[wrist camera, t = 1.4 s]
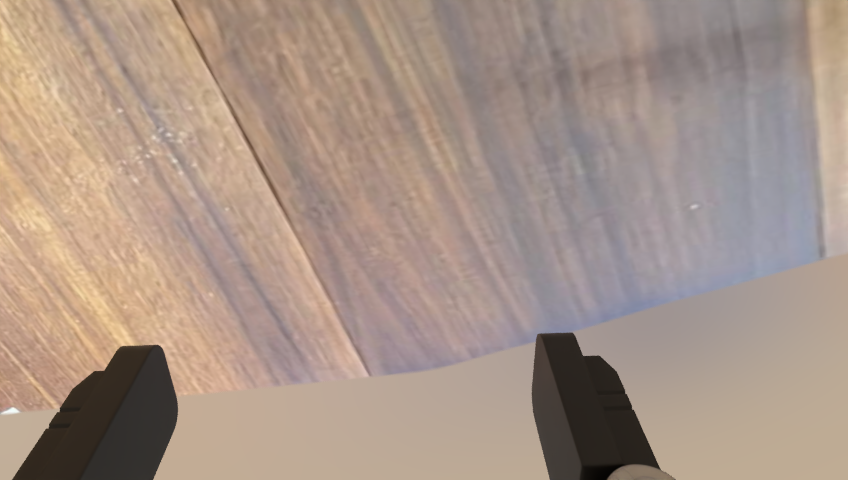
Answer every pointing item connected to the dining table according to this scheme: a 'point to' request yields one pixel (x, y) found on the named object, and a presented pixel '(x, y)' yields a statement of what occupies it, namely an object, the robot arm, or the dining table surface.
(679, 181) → the dining table surface
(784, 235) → the dining table surface
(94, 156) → the dining table surface
